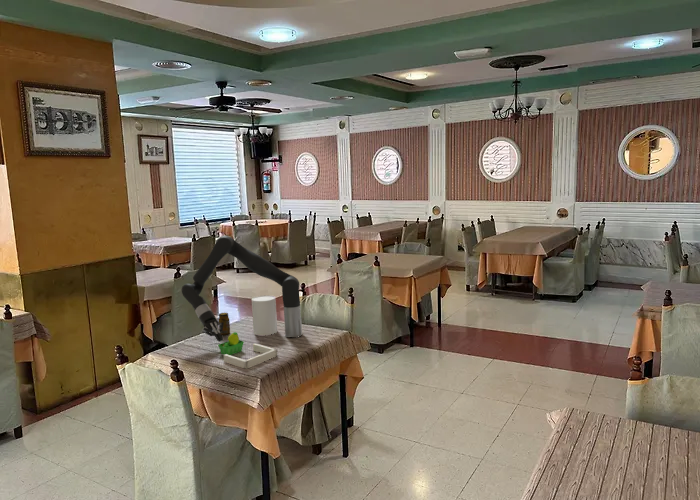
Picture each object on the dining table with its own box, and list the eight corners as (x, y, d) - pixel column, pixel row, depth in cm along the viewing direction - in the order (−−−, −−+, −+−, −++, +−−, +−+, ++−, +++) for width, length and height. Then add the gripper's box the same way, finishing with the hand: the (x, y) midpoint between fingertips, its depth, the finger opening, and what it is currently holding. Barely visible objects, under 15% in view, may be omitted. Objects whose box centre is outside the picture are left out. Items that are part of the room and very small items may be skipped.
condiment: (227, 331, 294) (226, 311, 292) (234, 334, 287) (233, 314, 286) (216, 334, 289) (214, 313, 288) (222, 337, 283) (221, 316, 281)
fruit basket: (236, 348, 264) (234, 327, 262) (246, 351, 258) (245, 330, 257) (217, 354, 255) (216, 333, 254) (228, 358, 250) (227, 336, 248)
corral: (224, 361, 245) (223, 354, 244) (255, 349, 260) (255, 343, 259) (245, 369, 234) (245, 361, 234) (277, 356, 250) (277, 349, 249)
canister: (249, 334, 285) (247, 300, 282) (260, 327, 298) (258, 295, 295) (271, 336, 281) (268, 301, 278) (281, 329, 294) (279, 295, 291)
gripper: (197, 313, 261) (213, 340, 255) (218, 307, 271) (234, 333, 265) (192, 321, 265) (207, 348, 259) (213, 315, 275) (228, 341, 269)
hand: (221, 340), depth 262 cm, fingers closed
